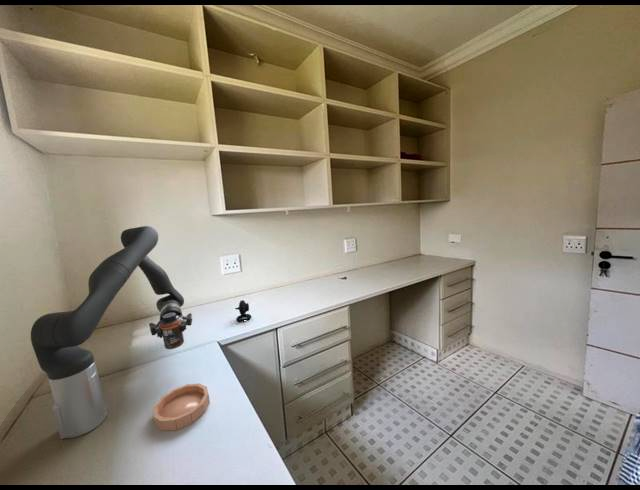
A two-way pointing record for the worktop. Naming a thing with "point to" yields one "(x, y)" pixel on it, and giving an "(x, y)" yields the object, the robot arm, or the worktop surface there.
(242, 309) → the webcam
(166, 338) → the supplement bottle
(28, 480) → the worktop surface
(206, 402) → the bowl
